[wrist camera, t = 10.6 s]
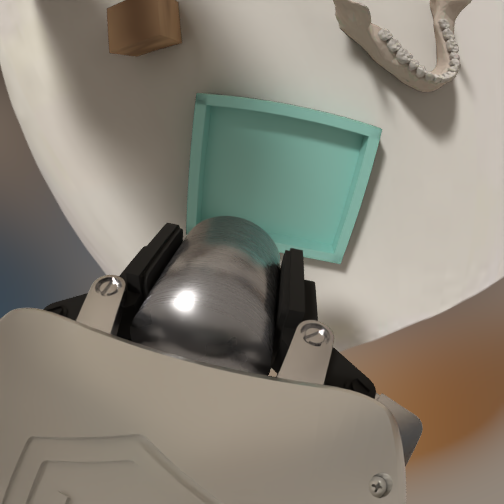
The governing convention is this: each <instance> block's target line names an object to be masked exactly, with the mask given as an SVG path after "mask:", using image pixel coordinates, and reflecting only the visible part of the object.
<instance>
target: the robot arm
mask: <svg viewBox="0 0 504 504" xmlns="http://www.w3.org/2000/svg"><path fill="white" fill-rule="evenodd" d="M182 242H183V229H180V227H179V225H176V224H171V223H166V224H165V226H164V227H163V228H162V229H161V230H160V231H159V233H158V234H157V235H156V236H155V237H154V238H153V240H152V241H151V242H150V243H149V244H148V245H147V246H145V247H143V248H142V249H141V250H140V252H139V253H138V254H137V255H136V256H135V258H134V259H133V260H132V261H131V262H130V264H129V265H128V266H127V267H126V269H125V270H124V271H123V272H122V274H121V275H120V276H116V275H105V276H102V277H100V278H98V279H97V280H95V281H94V283H93V284H92V286H91V288H90V290H89V292H88V293H87V294H83V295H80V296H76V297H73V298H69V299H66V300H62V301H59V302H55V303H52V304H50V305H48V306H47V307H46V308H45V309H44V310H41V309H36V308H20V309H15V310H12V311H10V312H9V313H7V314H6V315H5V316H3V317H2V318H1V319H0V504H406V474H405V466H406V464H407V463H408V460H409V459H410V457H411V455H412V453H413V451H414V449H415V447H416V444H417V442H418V440H419V438H420V436H421V433H422V423H421V421H420V419H419V418H418V417H417V416H416V415H414V414H413V413H411V412H409V411H408V410H407V409H405V408H403V407H402V406H400V405H399V404H397V403H396V402H394V401H393V400H391V399H390V398H388V397H387V396H385V395H384V394H381V395H379V394H377V393H376V390H375V387H374V384H373V383H372V382H371V381H370V380H369V378H367V377H366V376H365V375H364V374H363V373H362V372H361V371H359V370H358V369H357V368H356V367H355V366H354V365H352V363H350V362H349V361H348V360H347V359H346V358H345V357H344V356H342V355H341V354H340V353H339V352H338V351H337V350H336V349H335V348H333V342H334V335H333V332H332V331H331V329H330V328H329V327H328V326H327V325H325V324H324V323H322V322H319V321H318V316H317V302H316V289H315V282H313V281H308V280H304V263H303V250H299V249H295V248H290V251H288V250H285V253H284V256H283V260H282V264H281V268H280V276H279V288H278V299H277V310H276V321H275V331H274V342H273V352H272V361H271V368H272V369H273V370H274V371H275V372H276V373H277V376H276V377H272V376H266V375H260V374H255V373H250V372H245V371H240V370H235V369H231V368H226V367H222V366H217V365H213V364H209V363H205V362H201V361H197V360H193V359H189V358H185V357H182V356H178V355H174V354H171V353H167V352H164V351H161V350H157V349H154V348H151V347H148V346H144V345H141V344H138V343H135V342H132V340H131V335H130V327H131V324H132V321H133V319H134V317H135V316H136V314H137V312H138V311H139V309H140V308H141V306H142V304H143V303H144V301H145V299H146V298H147V296H148V295H149V293H150V291H151V290H152V288H153V287H154V285H155V283H156V282H157V280H158V279H159V277H160V276H161V274H162V272H163V271H164V269H165V268H166V266H167V265H168V263H169V262H170V260H171V259H172V257H173V256H174V254H175V253H176V251H177V250H178V248H179V247H180V245H181V244H182Z"/></svg>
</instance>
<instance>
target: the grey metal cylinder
mask: <svg viewBox="0 0 504 504" xmlns="http://www.w3.org/2000/svg"><path fill="white" fill-rule="evenodd" d="M279 276H280V255H279V251H278V249H277V246H276V244H275V243H274V241H273V239H272V238H271V237H270V236H269V235H268V233H267V232H265V231H264V230H263V229H262V228H261V227H259V226H258V225H256V224H254V223H253V222H251V221H248V220H246V219H243V218H239V217H234V216H217V217H212V218H209V219H206V220H204V221H202V222H200V223H199V224H197V225H196V226H195V227H193V229H192V230H191V231H190V232H189V233H188V235H187V236H186V238H185V239H184V241H183V242H182V244H181V245H180V247H179V248H178V250H177V251H176V253H175V254H174V256H173V257H172V259H171V260H170V262H169V263H168V265H167V266H166V268H165V269H164V271H163V272H162V274H161V276H160V277H159V279H158V280H157V282H156V283H155V285H154V287H153V288H152V290H151V291H150V293H149V295H148V296H147V298H146V299H145V301H144V303H143V304H142V306H141V308H140V309H139V311H138V312H137V314H136V316H135V317H134V319H133V321H132V324H131V327H130V335H131V340H132V342H135V343H138V344H141V345H144V346H148V347H151V348H154V349H157V350H161V351H164V352H167V353H171V354H174V355H178V356H182V357H185V358H189V359H193V360H197V361H201V362H205V363H209V364H213V365H217V366H222V367H226V368H231V369H235V370H240V371H245V372H250V373H255V374H260V375H266V376H268V375H269V373H270V369H271V361H272V352H273V342H274V331H275V321H276V310H277V299H278V288H279Z"/></svg>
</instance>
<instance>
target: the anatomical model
mask: <svg viewBox="0 0 504 504" xmlns="http://www.w3.org/2000/svg"><path fill="white" fill-rule="evenodd" d="M471 1H472V0H430V8H431V10H432V14H433V19H434V32H435V39H436V47H437V65H436V68H435V69H434V70H433V71H431V72H427V71H426V69H425V67H424V66H419V62H418V61H416V60H412V54H411V53H409V52H408V51H407V50H406V49H400V48H401V44H400V43H399V42H398V40H397V39H394V38H392V34H391V33H390V32H389V30H388V29H382V28H380V27H379V26H377V25H374V24H372V23H371V15H370V12H369V9H368V7H367V6H365V5H363V4H361V3H356V2H353V1H351V0H333V2H334V4H335V6H336V7H335V10H336V14H335V15H336V18H337V20H338V22H339V26H340V28H341V29H342V30H343V31H344V32H345V33H346V34H347V35H348V36H349V37H351V38H352V39H353V40H354V41H355V42H357V43H358V44H359V45H361V46H362V47H363V49H364V50H366V51H367V52H368V54H369V55H370V56H371V57H372V58H373V60H374V61H375V62H377V63H378V64H379V65H380V66H382V67H383V68H384V69H386V70H387V71H388V72H390V73H391V74H393V75H394V76H395V77H397V78H398V79H399V80H400V81H401V82H402V83H404V84H406V85H408V86H410V87H412V88H414V89H416V90H418V91H421V92H431V91H434V90H437V89H439V88H440V87H441V86H442V85H444V83H449V82H451V80H452V79H454V78H455V77H456V74H457V73H458V69H459V68H460V62H459V59H460V57H459V55H458V54H457V52H458V51H459V48H458V45H457V43H456V42H455V41H454V39H455V37H454V23H455V19H456V18H457V16H458V15H459V13H460V12H461V11H462V10H463V9H464V8H465V7H466V6H467V5H468V4H469V3H470V2H471Z"/></svg>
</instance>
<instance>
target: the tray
mask: <svg viewBox="0 0 504 504" xmlns="http://www.w3.org/2000/svg"><path fill="white" fill-rule="evenodd" d="M381 132H382V129H381V128H378V127H375V126H373V125H369V124H366V123H363V122H360V121H356V120H353V119H349V118H346V117H342V116H338V115H335V114H331V113H327V112H323V111H318V110H314V109H309V108H305V107H300V106H295V105H290V104H285V103H279V102H273V101H267V100H261V99H254V98H246V97H238V96H229V95H219V94H207V93H196V101H195V110H194V120H193V130H192V140H191V152H190V165H189V180H188V198H187V221H186V235H188V233H189V232H190V231H191V230H192V229H193V227H195V226H196V225H197V224H199V223H200V222H202V221H204V220H206V219H209V218H212V217H217V216H234V217H239V218H243V219H246V220H248V221H251V222H253V223H254V224H256V225H258V226H259V227H261V228H262V229H263V230H264V231H265V232H267V233H268V235H269V236H270V237H271V238H272V239H273V241H274V243H275V244H276V246H277V249H278V251H279V252H281V253H285V250H288V251H290V248H295V249H299V250H303V257H307V258H312V259H317V260H322V261H327V262H332V263H337V264H341V261H342V258H343V255H344V253H345V250H346V247H347V244H348V242H349V239H350V236H351V233H352V230H353V227H354V224H355V221H356V218H357V215H358V212H359V209H360V206H361V203H362V200H363V197H364V193H365V190H366V187H367V183H368V180H369V177H370V173H371V170H372V166H373V163H374V159H375V155H376V151H377V148H378V144H379V140H380V136H381Z"/></svg>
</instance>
